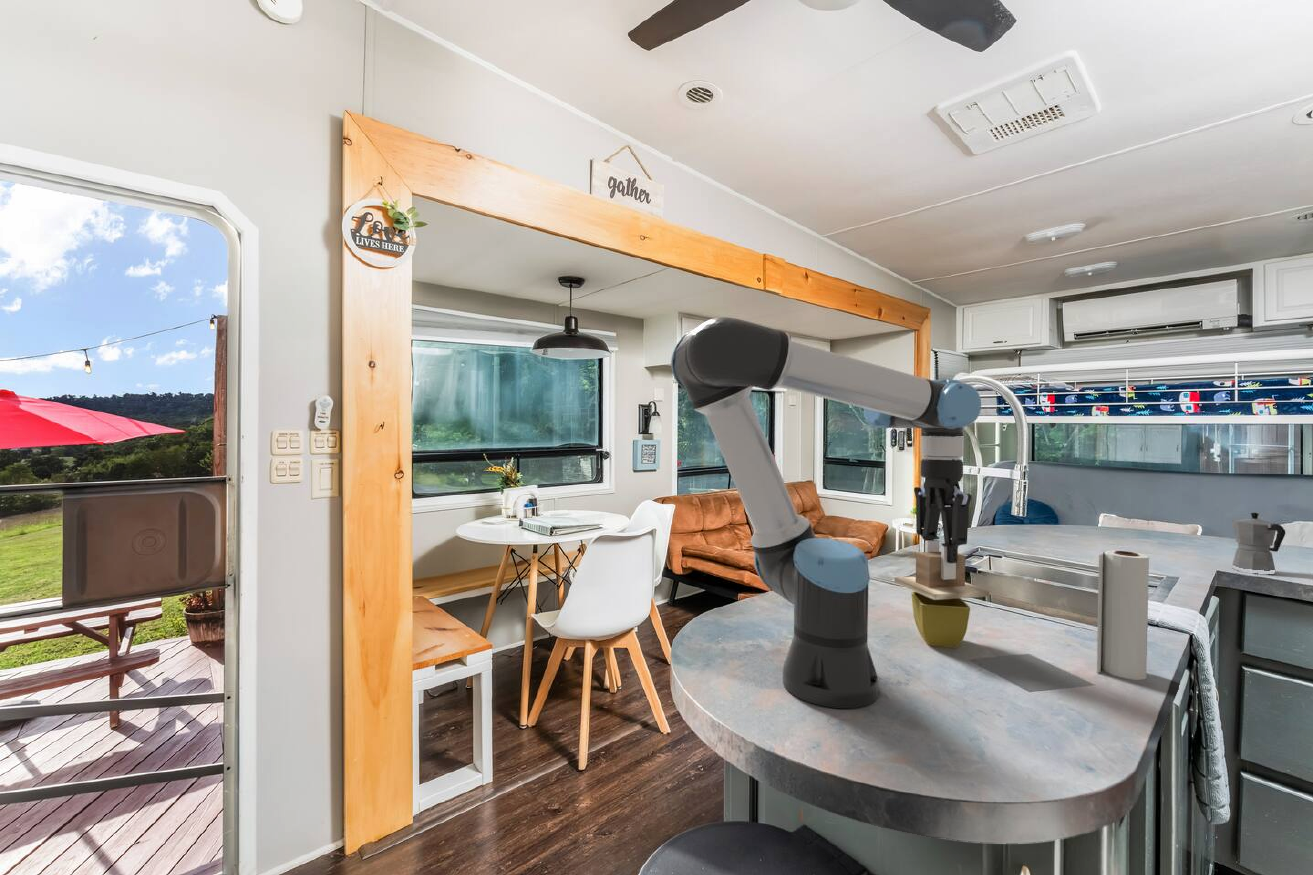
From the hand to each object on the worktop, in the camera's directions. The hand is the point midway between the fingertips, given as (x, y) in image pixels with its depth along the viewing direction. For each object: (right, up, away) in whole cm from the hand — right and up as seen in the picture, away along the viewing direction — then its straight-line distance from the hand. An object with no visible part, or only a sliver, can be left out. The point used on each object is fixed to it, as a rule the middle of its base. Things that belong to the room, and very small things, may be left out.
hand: (939, 575), depth 111 cm
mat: (+9, -14, -13) cm, 21 cm away
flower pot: (0, -14, 0) cm, 14 cm away
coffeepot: (+126, -14, +59) cm, 140 cm away
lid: (0, -3, 0) cm, 3 cm away
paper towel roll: (+25, -14, -13) cm, 32 cm away
